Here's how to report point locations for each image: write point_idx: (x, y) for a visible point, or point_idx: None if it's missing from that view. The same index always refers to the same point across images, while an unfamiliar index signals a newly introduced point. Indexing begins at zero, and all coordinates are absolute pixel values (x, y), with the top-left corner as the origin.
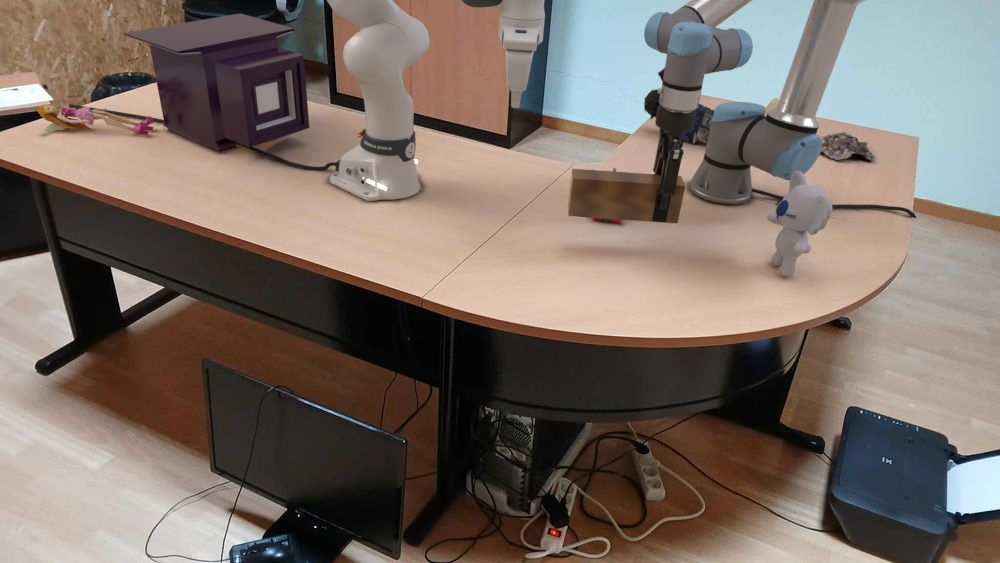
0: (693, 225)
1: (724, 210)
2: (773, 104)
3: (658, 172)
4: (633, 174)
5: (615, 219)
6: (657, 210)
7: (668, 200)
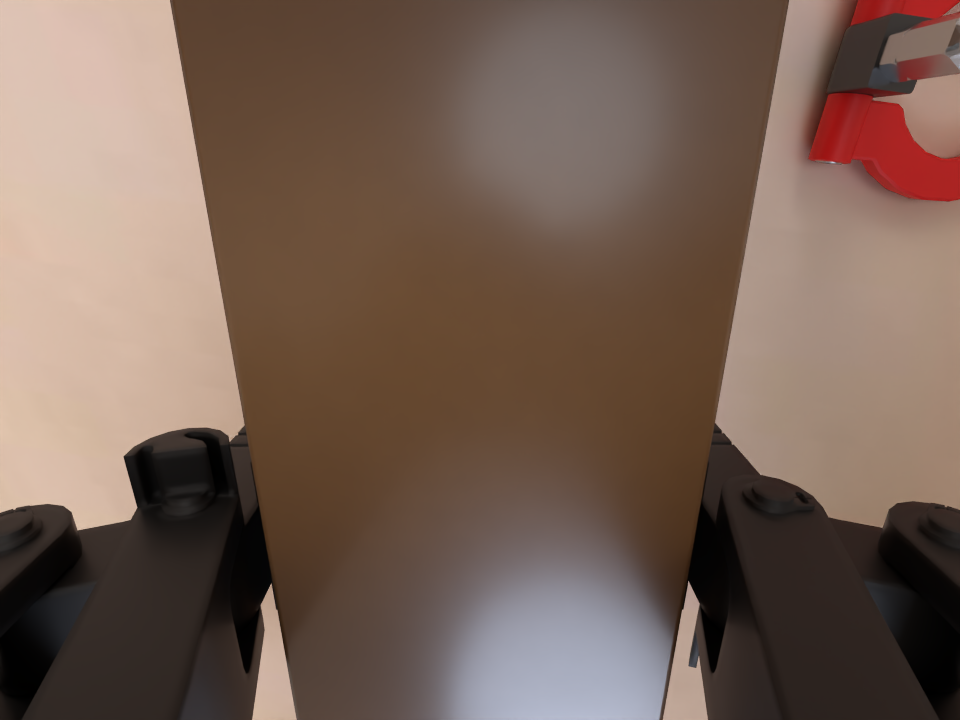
0: None
1: None
2: None
3: (732, 594)
4: (670, 71)
5: (827, 121)
6: None
7: None
